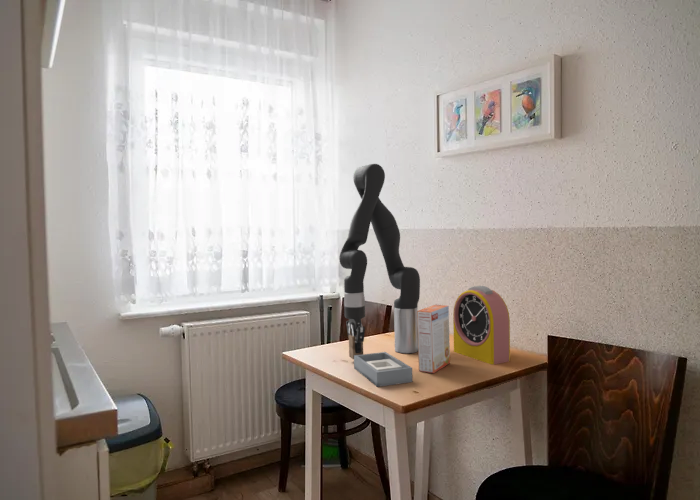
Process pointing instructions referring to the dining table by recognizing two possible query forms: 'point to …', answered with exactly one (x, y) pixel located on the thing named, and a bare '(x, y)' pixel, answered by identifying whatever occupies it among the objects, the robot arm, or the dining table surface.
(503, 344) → the alarm clock
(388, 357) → the walled box
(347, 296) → the robot arm
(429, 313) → the cracker box
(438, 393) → the dining table surface
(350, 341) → the peg
